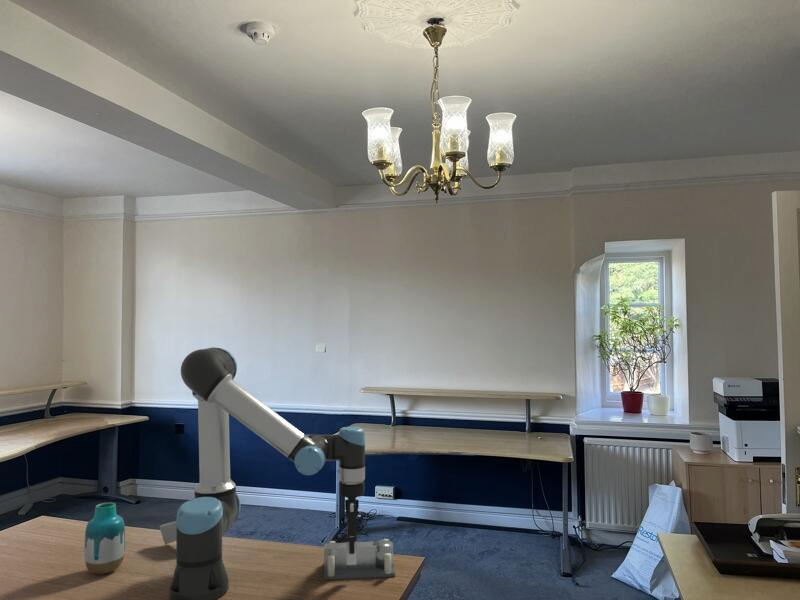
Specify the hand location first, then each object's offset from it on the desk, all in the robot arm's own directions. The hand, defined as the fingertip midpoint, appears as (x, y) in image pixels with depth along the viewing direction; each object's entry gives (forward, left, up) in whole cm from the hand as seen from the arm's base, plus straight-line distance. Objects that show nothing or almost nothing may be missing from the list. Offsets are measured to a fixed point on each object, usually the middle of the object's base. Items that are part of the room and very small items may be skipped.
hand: (351, 554), depth 169 cm
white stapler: (-60, +25, -2) cm, 65 cm away
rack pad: (+2, 0, -4) cm, 5 cm away
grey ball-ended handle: (+2, 0, -3) cm, 4 cm away
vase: (-72, +6, -4) cm, 72 cm away
